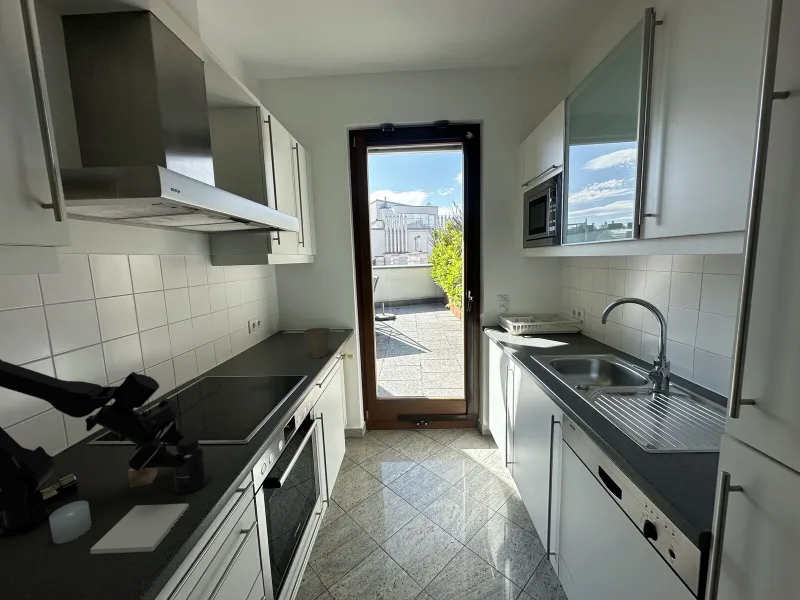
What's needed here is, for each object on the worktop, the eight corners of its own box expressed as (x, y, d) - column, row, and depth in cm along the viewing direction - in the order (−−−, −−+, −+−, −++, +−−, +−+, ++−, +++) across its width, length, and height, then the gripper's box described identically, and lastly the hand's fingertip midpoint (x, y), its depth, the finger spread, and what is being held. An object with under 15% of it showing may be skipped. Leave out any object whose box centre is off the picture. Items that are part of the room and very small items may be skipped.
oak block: (130, 487, 88) (127, 471, 87) (138, 477, 92) (136, 461, 92) (150, 484, 89) (148, 467, 88) (157, 474, 93) (155, 458, 93)
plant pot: (334, 353, 208) (332, 327, 207) (327, 360, 194) (326, 332, 192) (309, 353, 209) (307, 327, 207) (301, 360, 194) (299, 333, 192)
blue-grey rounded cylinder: (44, 544, 71) (40, 521, 70) (71, 522, 77) (68, 501, 76) (74, 543, 71) (70, 520, 70) (99, 520, 77) (95, 500, 76)
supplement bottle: (176, 498, 83) (170, 451, 82) (174, 484, 88) (169, 440, 87) (208, 487, 87) (204, 441, 85) (205, 473, 92) (200, 431, 91)
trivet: (91, 553, 68) (90, 549, 68) (136, 509, 80) (135, 505, 80) (153, 551, 68) (152, 546, 68) (189, 507, 80) (188, 503, 80)
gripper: (139, 410, 74) (203, 447, 79) (163, 382, 91) (214, 414, 97) (99, 454, 72) (167, 488, 77) (131, 416, 89) (185, 447, 95)
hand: (186, 455), depth 87 cm, fingers open, 9 cm apart
